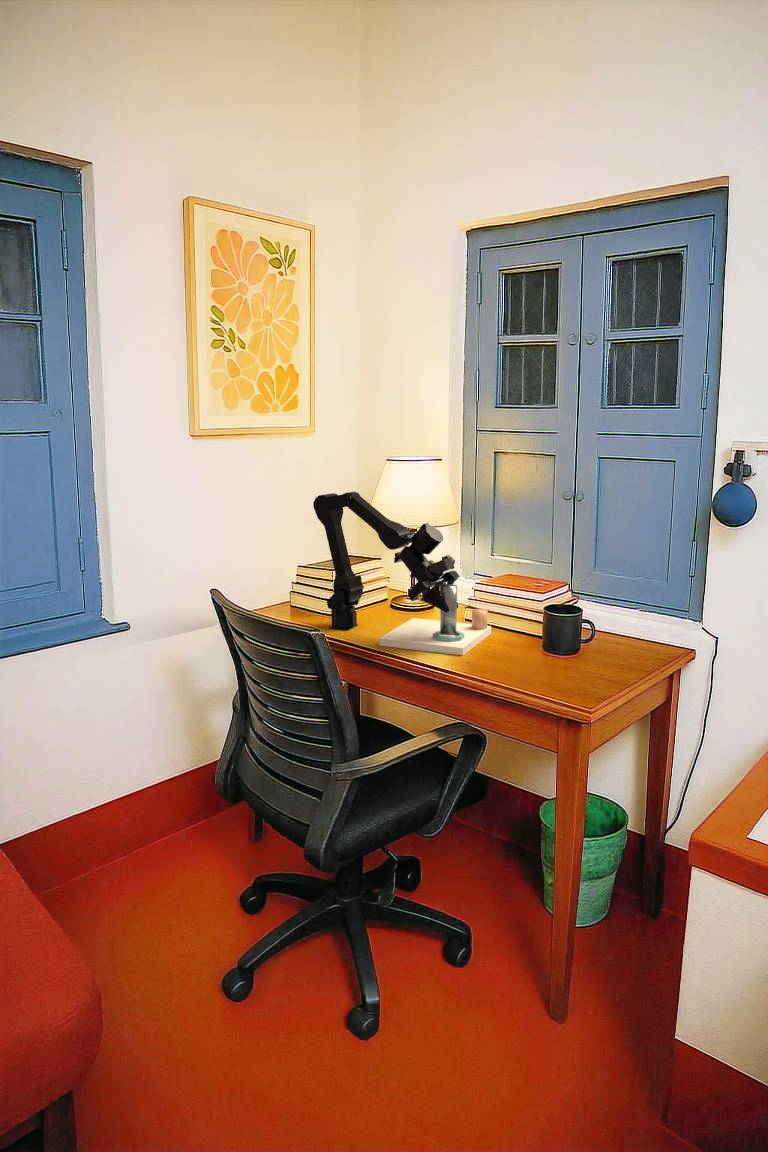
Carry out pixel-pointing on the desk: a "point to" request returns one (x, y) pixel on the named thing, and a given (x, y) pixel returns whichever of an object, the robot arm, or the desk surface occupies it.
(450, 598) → the shiny metal cylinder
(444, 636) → the board
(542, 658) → the desk surface
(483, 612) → the peach rounded cylinder
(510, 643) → the desk surface
